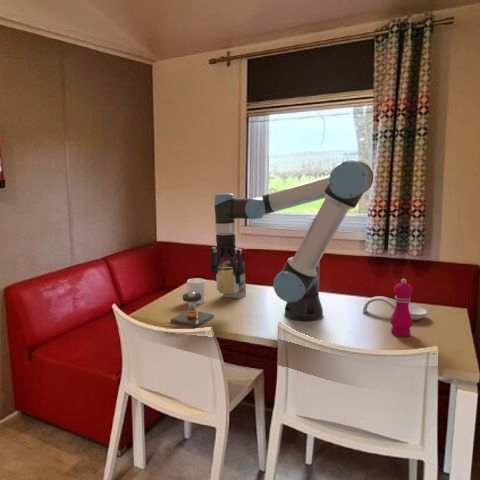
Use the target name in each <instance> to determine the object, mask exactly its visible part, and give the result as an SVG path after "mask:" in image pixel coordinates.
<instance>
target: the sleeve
mask: <svg viewBox="0 0 480 480" xmlns="http://www.w3.org/2000/svg"><path fill="white" fill-rule="evenodd" d="M217 274H218V290H217V291H218V293H219V294H231V293H235V292H234V282H233V276H234V275H235V274H234V271H233V268H232V267H222V266H221V268H219V269H217Z"/></svg>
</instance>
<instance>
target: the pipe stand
mask: <svg viewBox="0 0 480 480" xmlns="http://www.w3.org/2000/svg"><path fill="white" fill-rule="evenodd" d="M187 293H188V296H189V297H194V296H196V292H193V291H192V292H188V291H187ZM187 306H188V308H187V309H188V310H186V311H184V312H182V313H179V314H177V315H176V316H173V317H171V318H170V323H173V324H178V325H181V326H187V327H192V328H195V329H197V328H198V327H200V326H202V325H203V324H205V323H207V322H209V321H210V320H211V319H213V318H214V317H215V314H212V313H208V312H207V313H206V312H204V311H203V312H202V311H198V310H197V305H196V302H187Z"/></svg>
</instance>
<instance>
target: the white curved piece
mask: <svg viewBox="0 0 480 480" xmlns="http://www.w3.org/2000/svg"><path fill="white" fill-rule="evenodd" d="M375 301H381V302H384V303H386V304H387V305H388V306H390V308H391V309H393V311H394V310H395V308H396V300H395V298H390V297H386V296H381V295H380V296H377V295H376V296H373V297H370V298H368V299H367V300H366V302H365V304H364V305H363V310H362V314H366V312H367V311H368V307H369V305H370V304H371V303H373V302H375ZM409 313H410V315H411V318H412V321H417V320H421V319H423V318H425V317H426V316H427V314H428V310H427V309H425V308H423V307H422V306H419V305H415V304H412V303H409Z"/></svg>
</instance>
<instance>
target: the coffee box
mask: <svg viewBox="0 0 480 480" xmlns="http://www.w3.org/2000/svg"><path fill="white" fill-rule="evenodd" d="M236 262H237V260H236ZM237 265H238V264H237ZM243 265H244V271H245V273H244V274H242V275H240V283H239V291H237V292H236V293H231V294H223V295H222V296H223V297H226V298H234V299H238V300H239V299H242V298H243V297H246V296H247V294H246V293H247V291H246V290H247V286H246V284H247V283H246V282H247V281H246V280H247V279H246V261H243ZM222 267H232V265H231V263H230V260H229V259H228V260H225V261H223V262H222V265H221V268H222Z"/></svg>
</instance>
